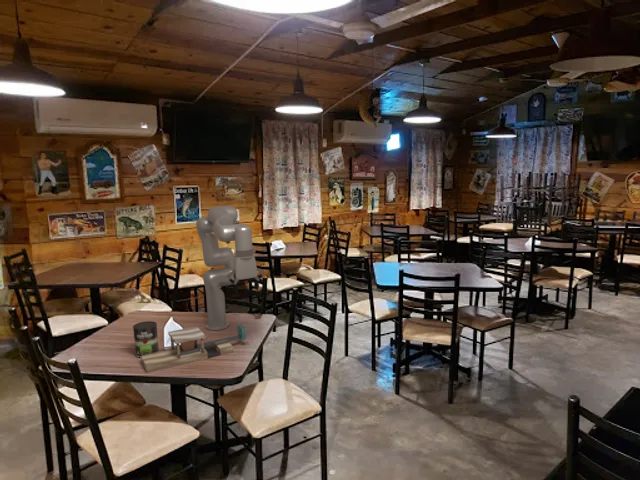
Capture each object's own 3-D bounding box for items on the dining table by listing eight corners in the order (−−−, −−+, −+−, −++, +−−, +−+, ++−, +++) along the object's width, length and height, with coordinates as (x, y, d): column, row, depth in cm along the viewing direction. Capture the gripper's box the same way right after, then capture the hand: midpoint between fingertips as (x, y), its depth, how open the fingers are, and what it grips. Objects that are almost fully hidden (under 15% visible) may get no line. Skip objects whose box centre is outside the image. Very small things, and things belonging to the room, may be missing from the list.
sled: (175, 349, 206) (174, 336, 205) (240, 334, 222) (240, 323, 221) (180, 355, 199) (179, 342, 198) (247, 340, 214) (246, 328, 213)
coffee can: (158, 356, 207) (155, 327, 205) (134, 359, 204) (131, 329, 202) (160, 348, 217) (157, 320, 214) (137, 351, 214) (134, 322, 212)
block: (180, 350, 205) (180, 339, 205) (191, 347, 208) (191, 337, 207) (183, 353, 201) (182, 343, 200) (194, 351, 204) (194, 340, 203)
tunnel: (141, 361, 202) (139, 337, 200) (223, 343, 221) (222, 321, 219) (147, 373, 190) (144, 348, 188) (233, 352, 209) (232, 329, 207)
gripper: (259, 250, 208) (261, 286, 211) (222, 254, 200) (225, 292, 202) (265, 252, 202) (267, 289, 204) (228, 257, 193) (230, 295, 196)
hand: (246, 290), depth 203 cm, fingers open, 9 cm apart
